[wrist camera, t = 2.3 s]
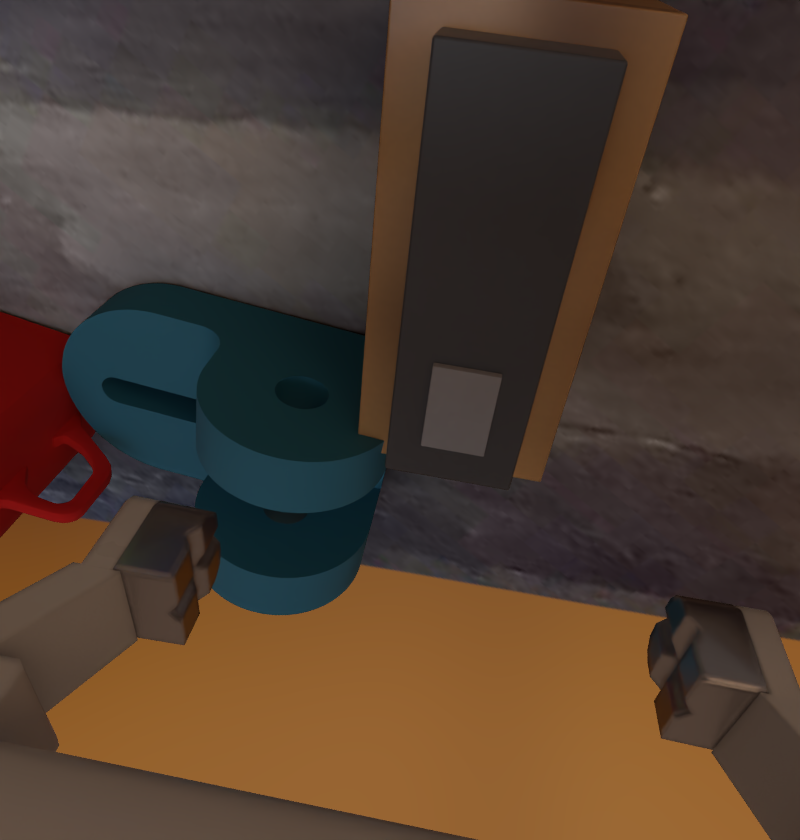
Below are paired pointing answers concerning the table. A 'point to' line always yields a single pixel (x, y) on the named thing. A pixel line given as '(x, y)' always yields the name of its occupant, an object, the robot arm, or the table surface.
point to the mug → (40, 426)
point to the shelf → (625, 147)
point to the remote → (492, 242)
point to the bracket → (240, 431)
